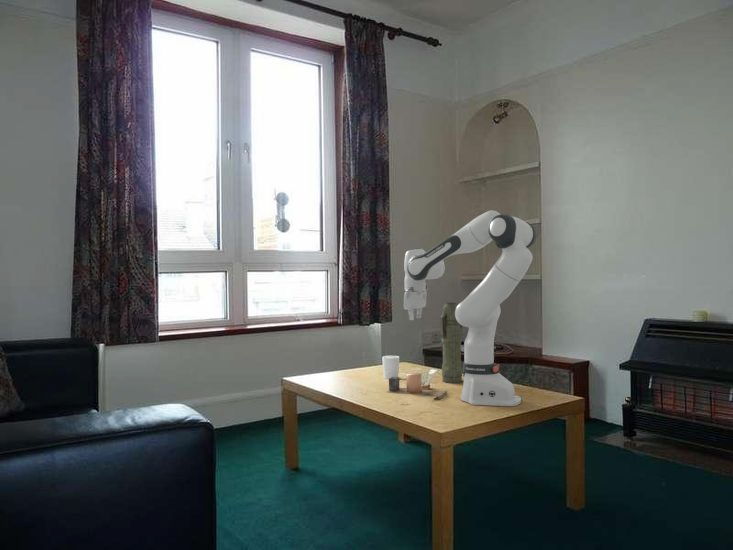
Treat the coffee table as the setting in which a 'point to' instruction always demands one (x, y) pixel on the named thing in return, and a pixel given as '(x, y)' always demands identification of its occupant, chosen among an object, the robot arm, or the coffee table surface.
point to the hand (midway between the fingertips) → (415, 319)
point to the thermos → (451, 344)
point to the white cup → (390, 366)
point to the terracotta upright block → (414, 382)
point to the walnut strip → (395, 389)
